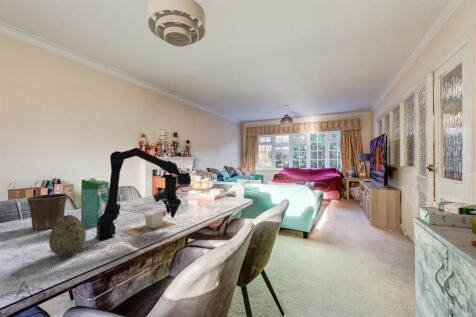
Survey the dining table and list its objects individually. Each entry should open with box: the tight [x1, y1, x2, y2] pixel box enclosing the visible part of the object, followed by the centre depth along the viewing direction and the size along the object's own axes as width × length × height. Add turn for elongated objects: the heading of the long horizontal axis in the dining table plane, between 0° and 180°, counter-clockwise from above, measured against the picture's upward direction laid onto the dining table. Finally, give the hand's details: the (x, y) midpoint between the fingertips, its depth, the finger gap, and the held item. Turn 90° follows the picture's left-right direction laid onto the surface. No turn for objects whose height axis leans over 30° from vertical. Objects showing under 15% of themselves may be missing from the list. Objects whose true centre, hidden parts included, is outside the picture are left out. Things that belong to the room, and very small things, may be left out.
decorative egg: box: [48, 214, 87, 257], centre depth 80 cm, size 11×11×15 cm
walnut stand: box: [121, 219, 177, 238], centre depth 109 cm, size 23×12×5 cm, turn 143°
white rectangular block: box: [144, 210, 167, 228], centre depth 114 cm, size 11×6×6 cm, turn 148°
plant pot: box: [26, 193, 69, 231], centre depth 112 cm, size 16×16×16 cm
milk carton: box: [80, 177, 110, 228], centre depth 117 cm, size 9×9×25 cm
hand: (170, 215), depth 113 cm, fingers open, 9 cm apart
